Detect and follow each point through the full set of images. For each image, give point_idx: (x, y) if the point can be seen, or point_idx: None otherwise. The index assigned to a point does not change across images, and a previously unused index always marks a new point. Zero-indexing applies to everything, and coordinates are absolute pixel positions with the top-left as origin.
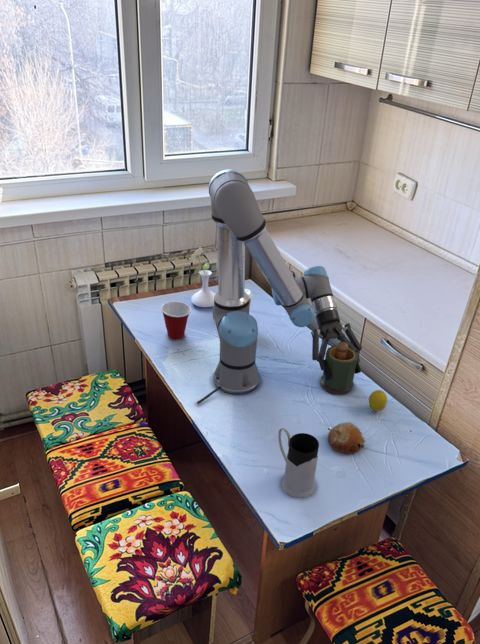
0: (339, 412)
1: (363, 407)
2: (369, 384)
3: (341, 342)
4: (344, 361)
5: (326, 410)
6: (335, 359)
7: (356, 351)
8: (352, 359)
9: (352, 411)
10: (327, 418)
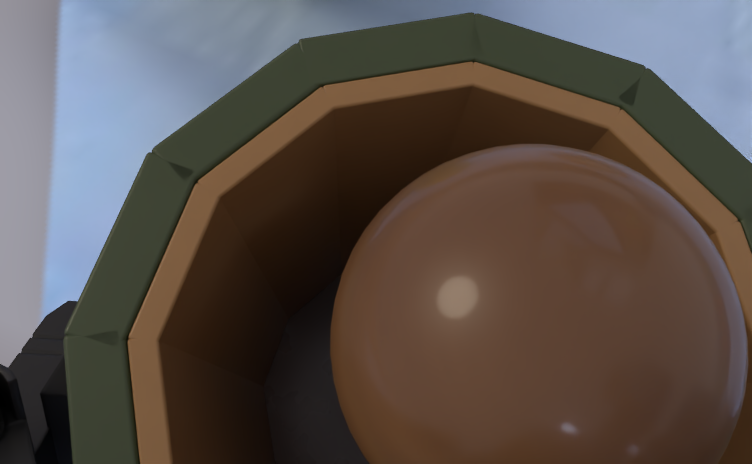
0: (596, 39)
1: (360, 12)
2: (66, 262)
3: (670, 378)
4: (580, 80)
5: (694, 102)
6: (741, 214)
7: (16, 379)
8: (371, 71)
9: (482, 8)
10: (730, 19)
